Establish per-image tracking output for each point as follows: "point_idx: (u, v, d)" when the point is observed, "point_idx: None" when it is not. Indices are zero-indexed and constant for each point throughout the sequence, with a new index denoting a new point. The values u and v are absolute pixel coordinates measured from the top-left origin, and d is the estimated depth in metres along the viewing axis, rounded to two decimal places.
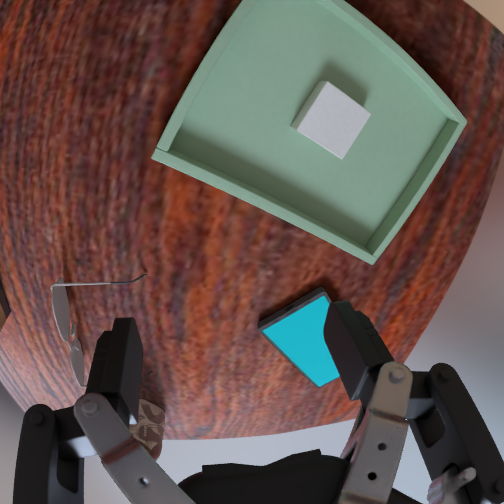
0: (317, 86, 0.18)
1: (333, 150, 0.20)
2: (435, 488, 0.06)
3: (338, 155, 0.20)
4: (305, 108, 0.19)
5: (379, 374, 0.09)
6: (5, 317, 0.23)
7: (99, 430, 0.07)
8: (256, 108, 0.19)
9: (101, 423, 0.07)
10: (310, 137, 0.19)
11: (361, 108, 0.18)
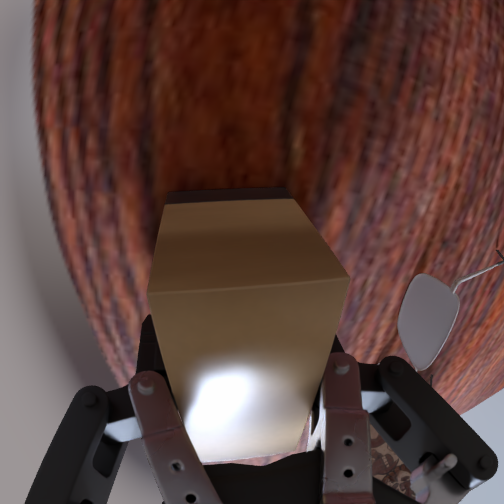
0: None
1: None
2: (417, 480, 0.06)
3: None
4: None
5: None
6: None
7: (158, 406, 0.08)
8: None
9: (153, 402, 0.08)
10: None
11: None
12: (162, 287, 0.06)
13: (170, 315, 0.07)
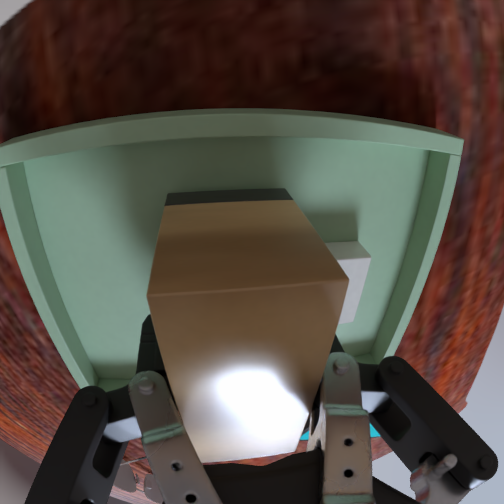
0: None
1: None
2: (417, 480, 0.06)
3: (346, 322, 0.15)
4: None
5: None
6: None
7: (158, 406, 0.08)
8: (138, 321, 0.15)
9: (152, 402, 0.08)
10: None
11: (354, 261, 0.13)
12: (161, 288, 0.06)
13: (170, 316, 0.07)
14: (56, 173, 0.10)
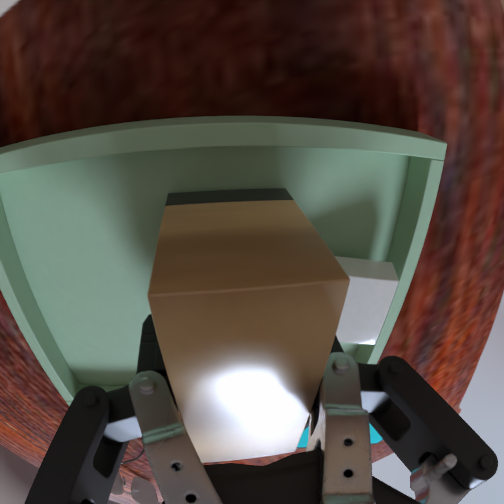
0: None
1: (357, 340, 0.14)
2: (417, 480, 0.06)
3: (367, 343, 0.14)
4: None
5: None
6: None
7: (158, 406, 0.08)
8: (111, 330, 0.14)
9: (153, 402, 0.08)
10: None
11: (379, 281, 0.12)
12: (162, 288, 0.06)
13: (171, 316, 0.07)
14: (26, 186, 0.10)
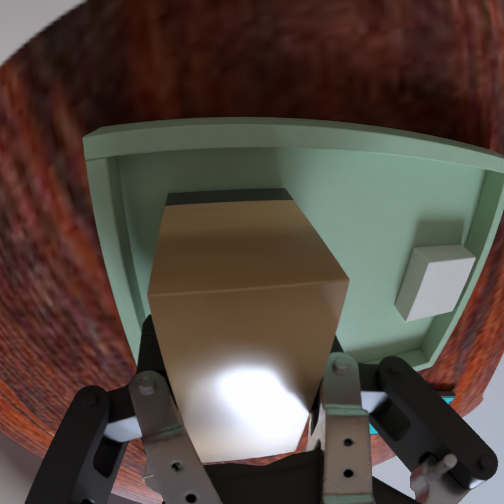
0: (414, 259, 0.15)
1: (443, 311, 0.16)
2: (417, 480, 0.06)
3: (448, 311, 0.16)
4: (407, 290, 0.15)
5: None
6: None
7: (158, 406, 0.08)
8: None
9: (153, 402, 0.08)
10: (420, 318, 0.16)
11: (466, 260, 0.14)
12: (162, 289, 0.06)
13: (170, 316, 0.07)
14: (160, 170, 0.11)
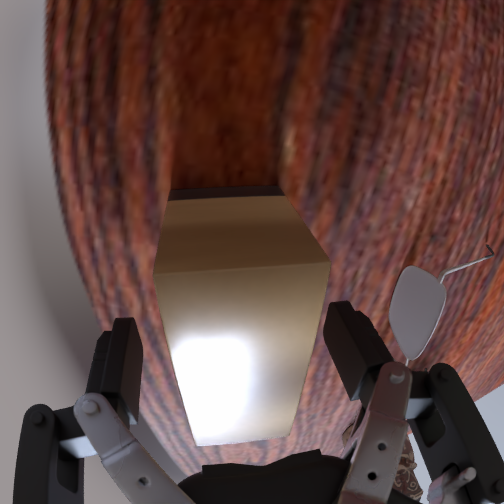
0: None
1: None
2: (435, 488, 0.06)
3: None
4: None
5: (379, 374, 0.09)
6: None
7: (99, 430, 0.07)
8: None
9: (101, 423, 0.07)
10: None
11: None
12: (166, 268, 0.07)
13: (173, 293, 0.08)
14: None
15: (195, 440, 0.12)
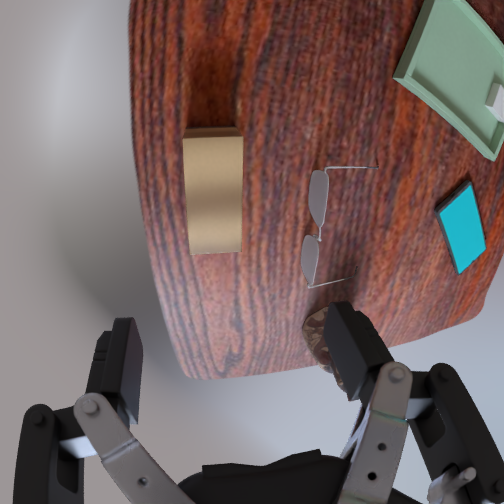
0: (493, 85, 0.26)
1: (502, 118, 0.27)
2: (435, 488, 0.06)
3: None
4: (491, 96, 0.27)
5: (379, 374, 0.09)
6: None
7: (99, 430, 0.07)
8: (440, 60, 0.25)
9: (101, 423, 0.07)
10: (496, 111, 0.27)
11: None
12: (187, 137, 0.22)
13: (188, 146, 0.22)
14: (445, 2, 0.20)
15: (190, 247, 0.26)
